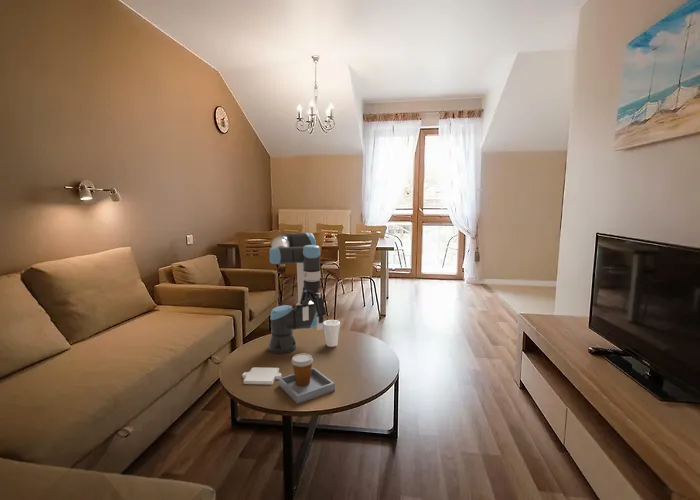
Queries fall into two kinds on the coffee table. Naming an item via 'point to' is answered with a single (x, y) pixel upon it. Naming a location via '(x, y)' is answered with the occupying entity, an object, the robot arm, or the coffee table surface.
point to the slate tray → (314, 389)
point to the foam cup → (331, 332)
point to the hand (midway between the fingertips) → (312, 324)
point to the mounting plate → (261, 375)
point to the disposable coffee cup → (302, 368)
